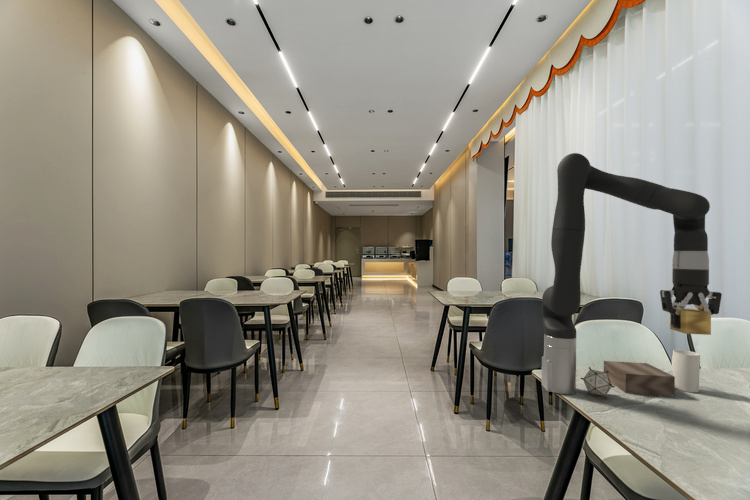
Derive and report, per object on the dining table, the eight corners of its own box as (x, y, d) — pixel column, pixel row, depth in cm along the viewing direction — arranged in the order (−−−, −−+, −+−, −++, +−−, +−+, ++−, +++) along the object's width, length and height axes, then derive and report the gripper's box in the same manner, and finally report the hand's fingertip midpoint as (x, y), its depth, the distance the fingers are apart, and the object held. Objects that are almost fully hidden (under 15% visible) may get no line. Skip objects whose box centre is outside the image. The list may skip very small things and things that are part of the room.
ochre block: (685, 333, 94) (685, 311, 94) (670, 329, 100) (670, 308, 100) (710, 334, 94) (710, 312, 94) (693, 330, 99) (693, 308, 100)
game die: (590, 405, 111) (573, 373, 116) (618, 398, 109) (600, 366, 115) (594, 400, 104) (576, 366, 109) (624, 392, 102) (605, 359, 108)
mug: (705, 394, 112) (705, 356, 112) (681, 392, 113) (681, 354, 113) (683, 382, 122) (683, 348, 122) (661, 381, 123) (661, 346, 123)
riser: (625, 392, 112) (625, 373, 112) (603, 377, 126) (603, 360, 126) (674, 396, 110) (674, 376, 110) (646, 380, 123) (646, 363, 124)
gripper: (670, 267, 95) (670, 330, 94) (731, 268, 92) (731, 333, 92) (652, 266, 102) (652, 324, 102) (708, 267, 100) (708, 327, 100)
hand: (689, 328), depth 97 cm, fingers closed on ochre block, 6 cm apart
